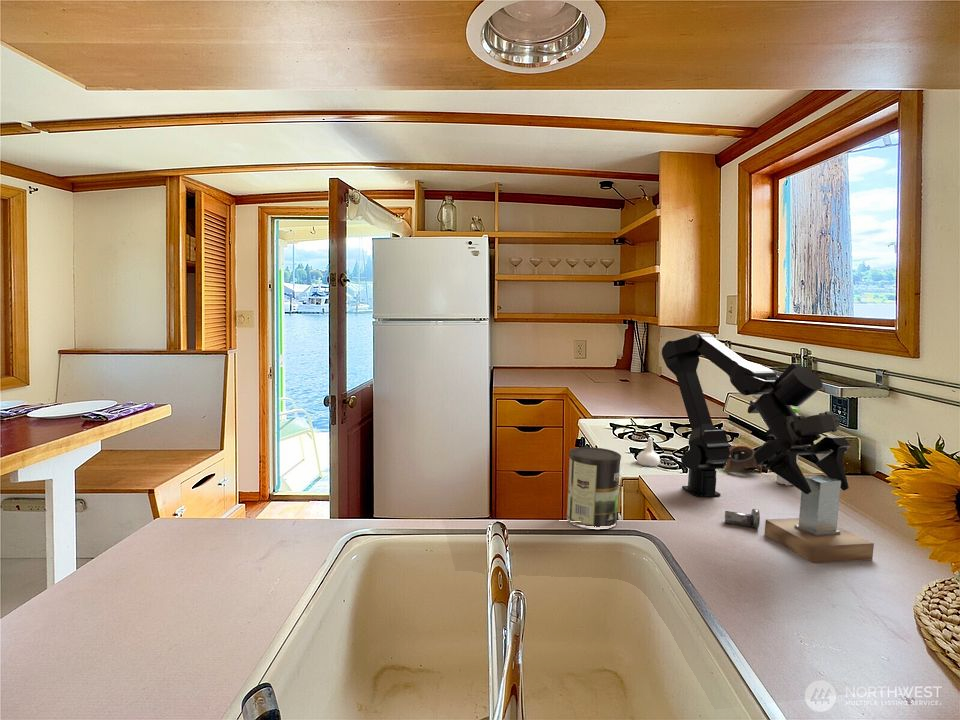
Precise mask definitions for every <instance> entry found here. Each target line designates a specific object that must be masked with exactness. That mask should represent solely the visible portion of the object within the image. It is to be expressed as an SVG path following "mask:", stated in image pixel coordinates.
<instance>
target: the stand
mask: <svg viewBox="0 0 960 720" xmlns="http://www.w3.org/2000/svg"><path fill="white" fill-rule="evenodd" d="M764 523H765V524H764V532H763V533H764V535H765V536H767V537H768V538H770V539H772V540H774V541H775V542H777V543H779V544H780V545H783V546H784V547H786V548H787V549H789V550H791V551H792V552H794V553H795V554H798V555H799V556H801V557H803V558H805V559H806V560H808V561H810V562H811V563H813V564H819V563H821V564H823V563H836V562H837V563H838V562H839V563H840V562H853V561H854V562H855V561H857V562H858V561H872V560H873V558H874V557H873V556H874V555H873V554H874V548H875V547H874V546H875V543H874V542H872V541H870V540H868V539H865V538H863V537H861V536H859V535H857V534H855V533H853V532H851V531H848V530H846V528H845V529H844V528H842V527H840V526H839V525H837V530H838V531H840V534H837V535H829V536H821V537H814V536H812V535H810V534H808V533H805V532H803V531H801V530H799V529H797V528H794V526H795V525H799V517H794V518H793V517H791V518H766V519H765V522H764Z"/></svg>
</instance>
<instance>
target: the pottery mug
mask: <svg viewBox="0 0 960 720" xmlns="http://www.w3.org/2000/svg"><path fill="white" fill-rule="evenodd" d="M729 450H730V456H729V457H728V459H727V461H726V464H725V469H726V470H727V472H730V471H731V470H745V469H749V468H750V467H753V468H752V469H755V468H756V470H757V471H758V470H759V471H760V472H759V471H758V472H759V473H762V472H763V471H762V470H763V466H758V464H757V463H756V461H755V459H754V451H755V449H754V448H752V447H751V446H747V445H746V444H745V445H730V447H729Z"/></svg>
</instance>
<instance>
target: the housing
mask: <svg viewBox="0 0 960 720" xmlns="http://www.w3.org/2000/svg"><path fill="white" fill-rule="evenodd" d="M804 477H805V479H806V481H807V483H808V485H809V487H810V489H811V493H809V494H805V493H804V492H802V491H801V490H800V491H801V493H800V494H801V495H800V506H799V515H798V516H799V517H798V518H799V525H795V526H794V528H797V529H799V530H801V531H803V532H805V533H808V534H810V535H812V536H814V537H821V536H829V535H837V534H840V531H838V530H837V526H838V519H839V518H838V517H839V507H840V499H841V498H840V496H841V488H840V487H841V481H840V480H837V479H834V478H831V477H828V476H827V475H826V474H816V475H804Z"/></svg>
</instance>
